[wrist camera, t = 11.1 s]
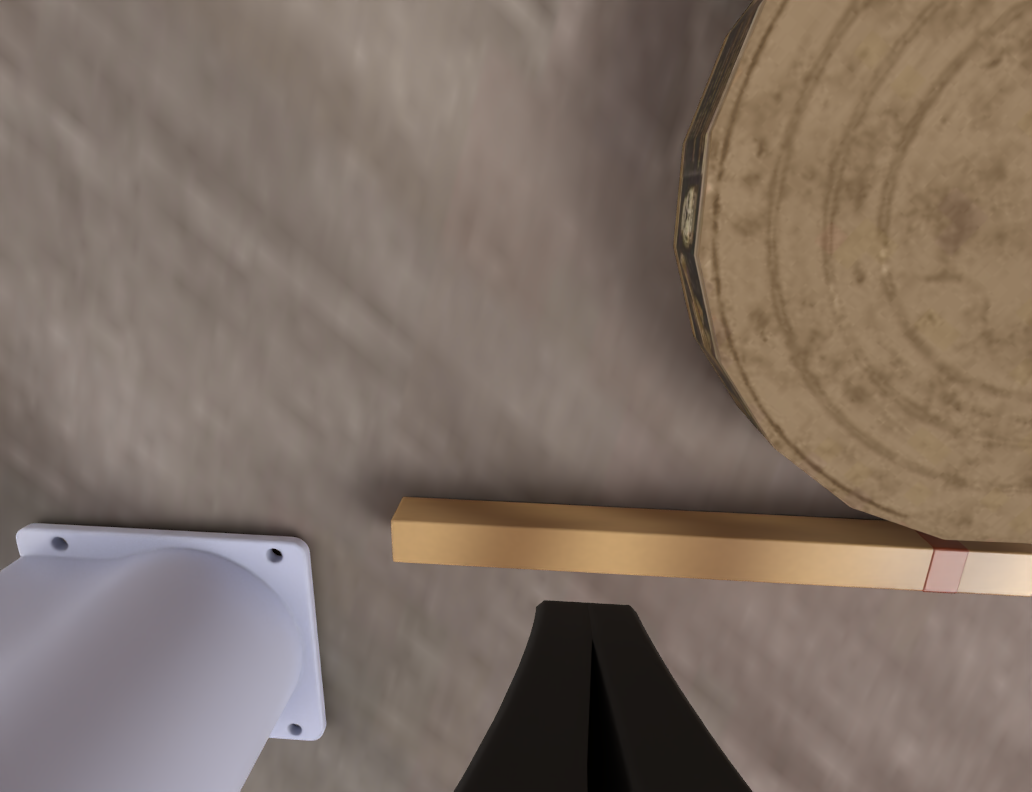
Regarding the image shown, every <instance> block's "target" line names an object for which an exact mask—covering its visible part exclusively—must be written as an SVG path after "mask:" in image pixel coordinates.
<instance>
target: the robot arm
mask: <svg viewBox="0 0 1032 792" xmlns="http://www.w3.org/2000/svg"><path fill="white" fill-rule="evenodd" d="M62 538H63V539H64V540H66V542H67V543H66V542H64V541H63V539H62ZM16 542H17V546H18V549H19V553H20V557H21V558H19V559H17V560H16V561H14V562H13V563H11V564H10V565H8V566H7V567H5V568H4V569H2V570H1V571H0V792H240V790H241V789H242V787H243V785H244V783H245V781H246V779H247V777H248V775H249V774H250V772H251V770H252V768H253V766H254V764H255V762H256V760H257V758H258V757H259V755H260V753H261V751H262V749H263V747H264V745H265V743H266V741H267V740H268V738H281V739H295V740H309V741H310V740H317V739H319V738H320V737H321V736H322V735H323V733H324V730H325V728H326V714H325V704H324V694H323V683H322V673H321V662H320V652H319V642H318V631H317V621H316V611H315V600H314V590H313V579H312V569H311V559H310V550H309V547H308V545H307V544H306V543H305V542H304V541H303V540H301V539H300V538H296V537H289V536H270V535H251V534H232V533H214V532H195V531H176V530H157V529H139V528H120V527H101V526H82V525H64V524H45V523H31V524H29V525H27V526H25V527H24V528H22V529H21V530H19V531H18V532H17V534H16ZM272 548H274V549H277V550H279V551H280V552H281V553H282V556H278V555H276V554H275V553H273V551H272ZM295 724H297V725H295ZM298 725H299V726H298ZM454 792H752V790H751V789H750V788H749V786H748V785H747V784H746V782H745V781H744V780H743V778H742V777H741V776H740V774H739V773H738V772H737V770H736V769H735V768H734V766H733V765H732V764H731V762H730V761H729V760H728V758H727V757H726V755H725V754H724V753H723V751H722V750H721V748H720V747H719V746H718V744H717V743H716V741H715V740H714V738H713V737H712V736H711V734H710V733H709V731H708V730H707V728H706V727H705V725H704V724H703V722H702V721H701V719H700V718H699V716H698V715H697V713H696V712H695V710H694V709H693V707H692V706H691V704H690V703H689V701H688V700H687V698H686V697H685V695H684V694H683V692H682V691H681V689H680V688H679V686H678V684H677V683H676V681H675V680H674V678H673V677H672V675H671V673H670V672H669V670H668V668H667V667H666V665H665V663H664V662H663V660H662V658H661V657H660V655H659V653H658V652H657V650H656V648H655V646H654V645H653V643H652V641H651V639H650V637H649V636H648V634H647V632H646V630H645V628H644V626H643V625H642V623H641V621H640V619H639V617H638V615H637V613H636V612H635V611H634V610H633V608H632V607H631V606H630V605H615V604H598V603H581V602H563V601H546V600H545V601H543V602H542V603H541V604H539V605H538V606H537V607H536V613H535V619H534V623H533V627H532V631H531V634H530V637H529V640H528V643H527V646H526V649H525V651H524V654H523V656H522V659H521V662H520V664H519V667H518V669H517V671H516V674H515V676H514V678H513V680H512V682H511V685H510V687H509V689H508V691H507V693H506V695H505V698H504V700H503V702H502V704H501V706H500V709H499V711H498V713H497V715H496V717H495V719H494V721H493V722H492V724H491V726H490V728H489V730H488V732H487V733H486V735H485V737H484V739H483V741H482V743H481V744H480V746H479V748H478V750H477V752H476V754H475V755H474V757H473V759H472V761H471V763H470V765H469V766H468V768H467V770H466V772H465V774H464V775H463V777H462V779H461V780H460V782H459V784H458V785H457V787H456V789H455V790H454Z"/></svg>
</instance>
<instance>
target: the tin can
mask: <svg viewBox="0 0 1032 792" xmlns="http://www.w3.org/2000/svg"><path fill="white" fill-rule="evenodd" d="M673 247H674V252H675V256H676V261H677V265H678V270H679V274H680V279H681V283H682V287H683V292H684V296H685V301H686V305H687V310H688V314H689V319H690V323H691V328H692V332H693V336H694V337H695V339H696V341H697V342H698V344H699V345H700V347H701V349H702V350H703V352H704V353H705V355H706V357H707V358H708V360H709V361H710V363H711V365H712V366H713V368H714V369H715V371H716V373H717V374H718V376H719V377H720V379H721V380H722V382H723V384H724V385H725V387H726V388H727V390H728V392H729V393H730V395H731V396H732V398H733V400H734V401H735V403H736V404H737V406H738V407H739V408H740V410H741V411H742V412H743V413H744V414H745V415H746V416H747V418H748V419H749V420H750V421H751V422H752V423H753V424H754V426H755V427H756V428H757V429H758V430H759V431H760V432H761V434H762V435H763V436H764V437H765V438H766V439H767V440H768V442H769V443H770V444H771V445H772V446H773V447H774V448H775V449H776V450H777V451H779V452H780V453H781V454H782V455H784V456H785V457H786V458H788V459H789V460H790V461H791V462H793V463H794V464H795V465H797V466H798V467H799V468H800V469H802V470H803V471H804V472H806V473H807V474H808V475H809V476H811V477H812V478H813V479H815V480H816V481H817V482H818V483H820V484H821V485H822V486H824V487H825V488H826V489H827V490H829V491H830V492H831V493H833V494H834V495H835V496H836V497H838V498H839V499H840V500H842V501H843V502H844V503H845V504H847V505H848V506H849V507H851V508H854V509H857V510H860V511H862V512H865V513H868V514H871V515H874V516H877V517H880V518H883V519H886V520H889V521H891V522H894V523H897V524H900V525H903V526H906V527H909V528H912V529H915V530H917V531H920V532H923V533H926V534H929V535H932V536H935V537H938V538H941V539H944V540H963V541H985V542H1008V543H1030V544H1032V0H753V2H752V3H751V4H750V6H749V7H748V8H747V10H746V11H745V12H744V14H743V15H742V16H741V17H740V19H739V20H738V21H737V23H736V24H735V25H734V27H733V28H732V29H731V31H730V32H729V33H728V35H727V36H726V38H725V40H724V43H723V45H722V48H721V50H720V53H719V55H718V58H717V60H716V63H715V65H714V68H713V70H712V73H711V75H710V78H709V80H708V83H707V85H706V88H705V90H704V93H703V95H702V98H701V100H700V103H699V105H698V108H697V110H696V113H695V115H694V118H693V120H692V123H691V125H690V128H689V130H688V133H687V135H686V138H685V140H684V143H683V148H682V159H681V169H680V180H679V191H678V201H677V212H676V223H675V233H674V244H673Z"/></svg>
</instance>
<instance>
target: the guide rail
mask: <svg viewBox="0 0 1032 792" xmlns="http://www.w3.org/2000/svg"><path fill="white" fill-rule="evenodd" d="M391 534H392V555H393V561H394V562H407V563H426V564H444V565H462V566H480V567H498V568H516V569H535V570H553V571H571V572H589V573H607V574H625V575H644V576H662V577H680V578H698V579H716V580H734V581H753V582H771V583H789V584H807V585H825V586H843V587H862V588H880V589H898V590H916V591H923V592H938V593H971V594H989V595H1007V596H1025V597H1030V596H1032V544H1030V543H1008V542H985V541H963V540H944V539H941V538H938V537H935V536H932V535H929V534H926V533H923V532H920V531H917V530H915V529H912V528H909V527H906V526H903V525H900V524H897V523H894V522H891V521H884V520H864V519H844V518H824V517H803V516H783V515H763V514H743V513H723V512H702V511H682V510H662V509H642V508H621V507H601V506H581V505H561V504H541V503H520V502H500V501H480V500H460V499H440V498H419V497H403V498H402V500H401V502H400V504H399V506H398V508H397V510H396V512H395V514H394V516H393V518H392V520H391Z"/></svg>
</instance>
